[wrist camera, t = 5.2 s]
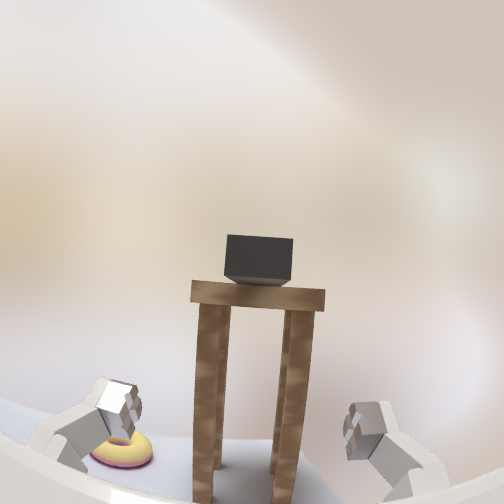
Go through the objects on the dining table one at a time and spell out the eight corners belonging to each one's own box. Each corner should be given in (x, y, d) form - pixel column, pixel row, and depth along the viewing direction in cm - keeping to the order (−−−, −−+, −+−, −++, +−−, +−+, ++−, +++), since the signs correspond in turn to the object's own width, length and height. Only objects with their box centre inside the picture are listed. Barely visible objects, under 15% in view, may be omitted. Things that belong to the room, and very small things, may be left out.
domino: (223, 276, 19) (226, 232, 19) (244, 288, 42) (245, 269, 43) (291, 280, 18) (293, 236, 19) (274, 291, 42) (275, 271, 43)
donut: (120, 447, 40) (75, 453, 32) (119, 422, 41) (73, 425, 33) (166, 462, 36) (119, 475, 28) (165, 434, 37) (116, 443, 29)
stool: (184, 511, 24) (191, 279, 28) (205, 457, 38) (214, 286, 42) (295, 520, 23) (325, 289, 27) (286, 464, 37) (304, 292, 41)
